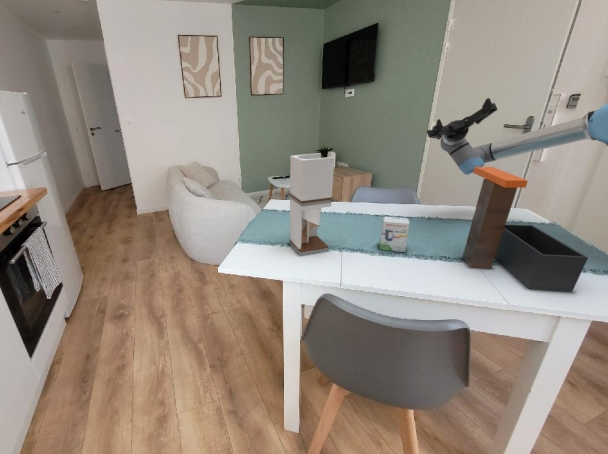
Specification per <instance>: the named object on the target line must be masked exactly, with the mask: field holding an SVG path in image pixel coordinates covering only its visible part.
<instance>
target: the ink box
mask: <svg viewBox="0 0 608 454" xmlns="http://www.w3.org/2000/svg"><path fill="white" fill-rule="evenodd" d="M381 224H382V225H381V231H380V238H379V250H380V251H388V252H390V251H391V252H398V253H406V250H407V249H406V248H407V244H408V236H409V231H410V226H411V222H410V219H409V218H407V217H406V218H405V217H395V216H383V218H382V223H381Z"/></svg>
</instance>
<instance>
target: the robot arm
mask: <svg viewBox="0 0 608 454" xmlns="http://www.w3.org/2000/svg"><path fill="white" fill-rule="evenodd" d="M497 111H498V107H497V105H496V103H495V102H492V100H491V98H490V97H487V98H486V99H485V100H484V102H483V104H482V106H481V108H480V109H478V110H477V111H476V112H474V113H472V114H470V115H469V116H465V117H464V118H462V119H456V120H452V121H451V122H449V123H448V124H446V125H443V123H442V120H441V119H440V118H439V119H436V124H435V125H434V126H433V127H432V129H427V130H426V134H427V136H428V138H429V139H436V140H439V141H440V147H441V149H442V150H443V151H444V152H446V153H447V154H448V155H449V156H450V157H451V159H452V161H454V163H455V165H456V166H457V167H458V169H459V170H460V171H461V172H462V173H463V175H465V176H466V175H468V176H469V175H471V174H474V173H473V172H474V168H475V167H485V164H486V163H491V162H494V161H499V160H504V159H507V158H512V157H515V156H521V155H525V154H528V153H533V152H537V151H543V150H545V149H546V150H547V149H550V148H555V147H559V146H564V145H568V144H572V143H576V142H581V141H586V140H591V141H597V142H601V143H603V144H605V146H607V147H608V102H607V103H605V104H603V105H602V106H601V107H600V108H598V109H595V110H591V111H588V112H586V114H585V115H584V116H581V117H578V118H575V119H571V120H568V121H564V122H560V123H556V124H554V125H550V126H547V127H542V128H539V129H536V130H532V131H529V132H524V133H522V134H518V135H514V136H511V137H507V138H504V139H500V140H497V141H493V142H490V143H486V144H481V145H478V146H476V147H473V146H472V145H471V144H470V142H469V141H468V140H467V138H466V136H467V135H468V133H469V129H470V127H472V126H473V125H474V124H475V125H479V124H481V123H482V122H483V121H484V120H486V119H487V118H489V116H491V115H492V114H494V113H496V112H497Z"/></svg>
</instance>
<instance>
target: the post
mask: <svg viewBox="0 0 608 454" xmlns="http://www.w3.org/2000/svg"><path fill="white" fill-rule="evenodd" d="M517 191H518V188H515V187H502V186H500V185H498V184H496V183H494V182H492V181H490V180H487V179H485V178H483V179H482V184H481V188H480V191H479V194H478V199H477V202H476V205H475V209H474V214H473V217H472V220H471V224H470V228H469V231H468V234H467V238H466V242H465V245H464V249H463V253H462V257H461V259H462V260H463V261H464V262H465V263H466V265H467V266H468V267H469V268H475V269H492V267H493V264H494V261H495V255H496V252H497V249H498V246H499V243H500V240H501V237H502V234H503V231H504V227H505V224H507V221H508V218H509V215H510V212H511V209H512V205H513V202H514V199H515V196H516V193H517Z"/></svg>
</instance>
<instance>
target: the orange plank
mask: <svg viewBox="0 0 608 454" xmlns="http://www.w3.org/2000/svg"><path fill="white" fill-rule="evenodd" d="M472 174H474V175H477V176H479V177H481V178H483V179H487V180H490V181H492V182H494V183H496V184H498V185H500V186H502V187H515V188H517V189H518V188H519V189H522V188H524V189H525V188H526V187H527V184H528V182H529V180H528V179H525V178H522V177H520V176H517V175H514V174H512V173H509V172H507V171H504V170H502V169H499V168H496V167H494V166H483V167H475V168H474V172H473V173H472Z"/></svg>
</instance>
